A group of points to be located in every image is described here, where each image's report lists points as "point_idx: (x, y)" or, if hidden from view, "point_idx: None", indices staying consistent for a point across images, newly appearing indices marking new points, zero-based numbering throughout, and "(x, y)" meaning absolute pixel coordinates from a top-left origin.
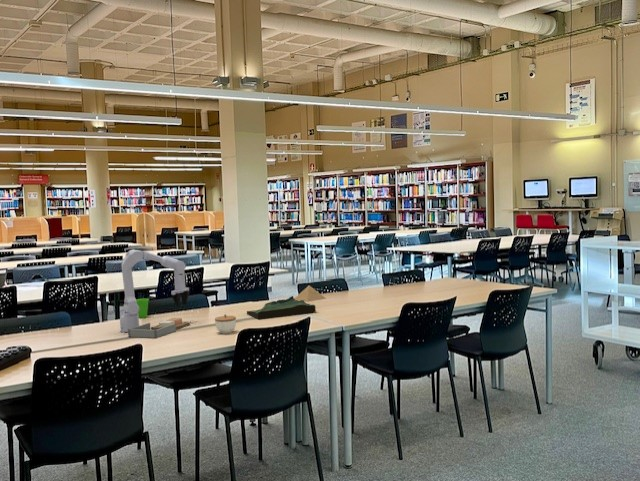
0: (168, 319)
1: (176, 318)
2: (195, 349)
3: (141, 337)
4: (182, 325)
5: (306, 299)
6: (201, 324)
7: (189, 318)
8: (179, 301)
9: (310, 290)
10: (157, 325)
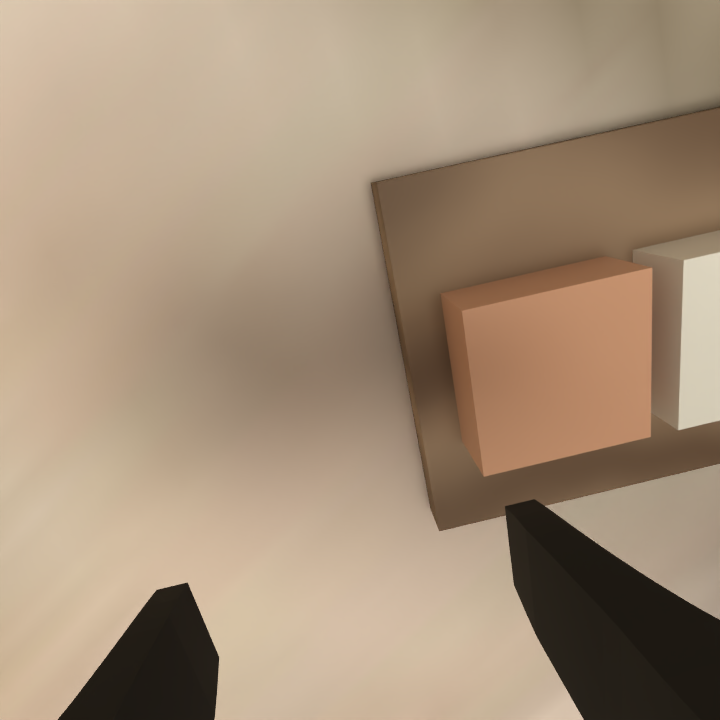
0: (598, 448)
1: (495, 394)
2: None
3: None
4: (587, 136)
5: None
6: (241, 11)
7: (6, 570)
8: (630, 594)
9: None
10: (678, 471)
